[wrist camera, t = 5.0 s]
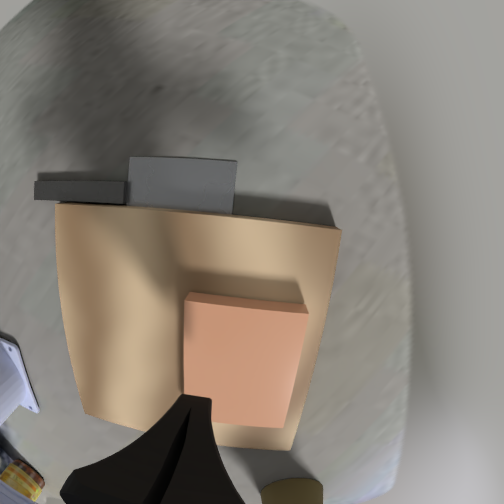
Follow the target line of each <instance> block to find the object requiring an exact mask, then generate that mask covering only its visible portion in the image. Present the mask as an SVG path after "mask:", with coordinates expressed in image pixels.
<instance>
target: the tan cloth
mask: <svg viewBox="0 0 504 504" xmlns="http://www.w3.org/2000/svg"><path fill="white" fill-rule="evenodd" d="M341 233H342V230H341V229H339V228H337V227H334V226H326V225H318V224H310V223H302V222H294V221H285V220H277V219H268V218H259V217H250V216H240V215H230V214H220V213H210V212H199V211H188V210H176V209H164V208H152V207H138V206H125V205H110V204H93V203H75V202H64V203H57V204H55V238H56V259H57V273H58V284H59V293H60V301H61V309H62V316H63V322H64V328H65V334H66V339H67V345H68V350H69V354H70V359H71V364H72V368H73V372H74V376H75V380H76V384H77V388H78V391H79V395H80V398H81V402H82V405H83V409H84V412H85V414H88V415H91V416H94V417H97V418H100V419H103V420H106V421H109V422H113V423H116V424H119V425H123V426H126V427H130V428H134V429H138V430H141V431H145V432H147V431H148V430H149V429H150V428H151V427H152V426H153V425H154V424H155V423H156V422H157V421H158V420H159V419H160V418H161V417H162V416H163V415H164V414H165V413H166V412H167V411H168V410H169V409H170V407H171V406H172V405H173V404H174V403H175V401H176V400H177V399H178V397H179V396H180V395H181V394H184V300H185V299H186V297H187V295H188V294H189V292H196V293H204V294H212V295H220V296H228V297H237V298H246V299H255V300H265V301H275V302H285V303H296V304H306V307H307V310H308V312H309V317H308V322H307V327H306V332H305V337H304V342H303V347H302V351H301V356H300V361H299V365H298V370H297V374H296V378H295V383H294V387H293V391H292V395H291V399H290V403H289V407H288V411H287V415H286V419H285V423H284V427H283V428H269V427H255V426H244V425H234V424H225V423H217V422H212V427H213V432H214V437H215V441H216V445H221V446H230V447H239V448H250V449H265V450H290V449H291V446H292V443H293V440H294V437H295V434H296V431H297V427H298V424H299V421H300V417H301V414H302V411H303V407H304V404H305V400H306V397H307V393H308V389H309V386H310V382H311V378H312V374H313V370H314V366H315V363H316V358H317V354H318V350H319V346H320V342H321V338H322V333H323V329H324V324H325V320H326V315H327V310H328V305H329V301H330V296H331V290H332V285H333V280H334V275H335V269H336V263H337V258H338V252H339V246H340V239H341Z"/></svg>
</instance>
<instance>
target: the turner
mask: <svg viewBox="0 0 504 504" xmlns="http://www.w3.org/2000/svg"><path fill="white" fill-rule="evenodd" d="M236 169H237V162H232V161H220V160H205V159H188V158H164V157H130V161H129V173H128V182H124V181H35V186H34V200H57V201H81V202H101V203H118V204H124V203H127V205H126V206H138V207H152V208H164V209H176V210H188V211H199V212H210V213H220V214H230V215H232V209H233V199H234V189H235V179H236Z"/></svg>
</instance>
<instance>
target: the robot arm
mask: <svg viewBox="0 0 504 504" xmlns="http://www.w3.org/2000/svg"><path fill="white" fill-rule="evenodd" d="M19 405H21V406H23V407H25V408H27V409H29V410H31V411H33V412H35V413H38V412H39V411H40V410H39V407H38V405H37V402H36V399H35V397H34V394H33V391H32V389H31V386H30V383H29V380H28V377H27V374H26V371H25V368H24V365H23V361H22V358H21V355H20V351H19V348H18V347H17V345H15V344H13V343H11V342H9V341H7V340H4V339H2V338H0V426H1V425H2V423H3V422H4V421H5V420H6V419H7V418H8V417H9V416H10V415H11V413H12V412H13V411H14V410H15V409H16V408H17V407H18V406H19ZM211 415H212V400H211V399H210V398H207V397H200V396H194V395H188V394H181V395H180V396H179V397H178V399H177V400H176V401H175V403H174V404H173V405H172V406H171V407H170V409H169V410H168V411H167V412H166V413H165V414H164V415H163V416H162V417H161V418H160V419H159V420H158V421H157V422H156V423H155V424H154V425H153V426H152V427H151V428H150V429H149V430H148V431H147V432H145V433H144V434H143V435H142V436H141V437H139V438H138V439H137V440H135V441H134V442H133V443H131V444H130V445H128V446H127V447H125V448H123V449H122V450H120V451H119V452H117V453H115V454H113V455H111V456H109V457H107V458H105V459H103V460H101V461H98V462H96V463H94V464H91V465H88V466H85V467H82V468H79V469H75V470H74V471H73V472H72V473H71V474H70V476H69V477H68V478H67V480H66V481H65V483H64V485H63V487H62V489H61V490H60V496H61V497H62V499H63V501H64V502H65V503H66V504H245V502H244V501H243V500H242V498H241V497H240V495H239V493H238V492H237V490H236V489H235V487H234V485H233V483H232V481H231V479H230V477H229V476H228V474H227V471H226V469H225V467H224V465H223V462H222V460H221V457H220V454H219V451H218V448H217V445H216V441H215V437H214V432H213V427H212V421H211ZM0 504H38V503H36V502H34V501H32V500H31V499H29V498H27V497H26V496H24V495H23V494H21V493H19V492H18V491H16V490H15V489H13V488H12V487H10V486H9V485H7V484H6V483H4V482H3V481H2V480H0Z"/></svg>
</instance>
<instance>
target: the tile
mask: <svg viewBox="0 0 504 504" xmlns="http://www.w3.org/2000/svg"><path fill="white" fill-rule="evenodd" d="M308 317H309V312H308V310H307V307H306V304H296V303H285V302H275V301H265V300H255V299H246V298H237V297H228V296H220V295H212V294H204V293H196V292H189V294H188V295H187V297H186V299H185V300H184V394H188V395H194V396H200V397H207V398H210V399H211V400H212V415H211V421H212V422H217V423H225V424H234V425H244V426H255V427H269V428H283V427H284V423H285V419H286V415H287V411H288V407H289V403H290V399H291V395H292V391H293V387H294V383H295V378H296V374H297V370H298V365H299V361H300V356H301V351H302V347H303V342H304V337H305V332H306V327H307V322H308Z"/></svg>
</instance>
